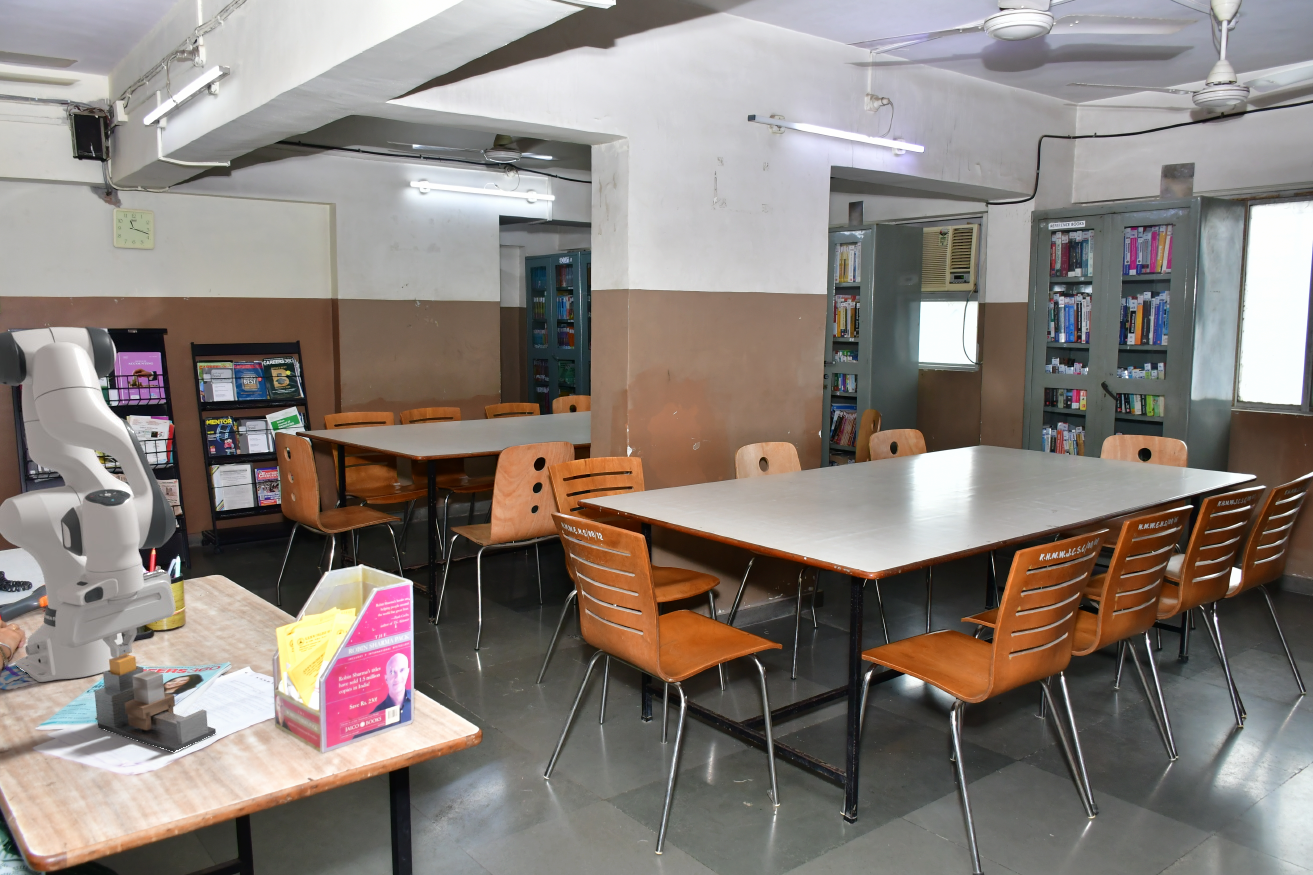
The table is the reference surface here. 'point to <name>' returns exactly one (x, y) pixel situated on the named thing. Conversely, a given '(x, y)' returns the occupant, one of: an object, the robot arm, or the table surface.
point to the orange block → (122, 664)
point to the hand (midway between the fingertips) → (121, 654)
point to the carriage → (148, 699)
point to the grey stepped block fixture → (165, 725)
